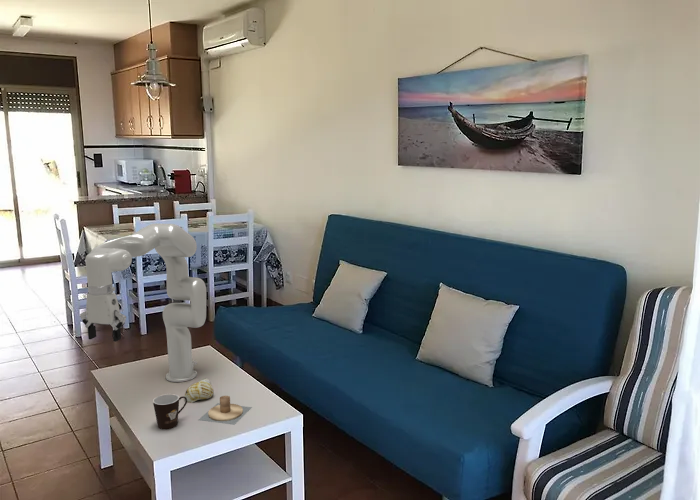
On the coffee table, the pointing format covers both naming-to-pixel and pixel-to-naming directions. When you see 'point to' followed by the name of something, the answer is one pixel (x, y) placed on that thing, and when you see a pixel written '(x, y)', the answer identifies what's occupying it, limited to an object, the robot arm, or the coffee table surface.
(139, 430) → the coffee table surface
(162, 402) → the coffee mug
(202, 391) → the seashell
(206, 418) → the mat
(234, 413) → the lid
